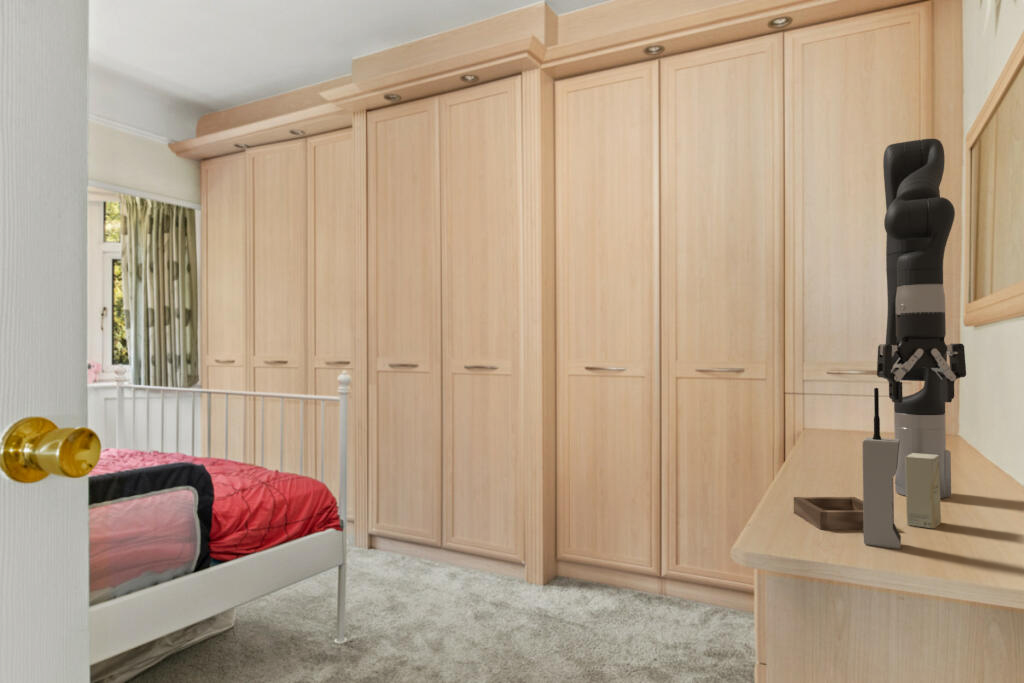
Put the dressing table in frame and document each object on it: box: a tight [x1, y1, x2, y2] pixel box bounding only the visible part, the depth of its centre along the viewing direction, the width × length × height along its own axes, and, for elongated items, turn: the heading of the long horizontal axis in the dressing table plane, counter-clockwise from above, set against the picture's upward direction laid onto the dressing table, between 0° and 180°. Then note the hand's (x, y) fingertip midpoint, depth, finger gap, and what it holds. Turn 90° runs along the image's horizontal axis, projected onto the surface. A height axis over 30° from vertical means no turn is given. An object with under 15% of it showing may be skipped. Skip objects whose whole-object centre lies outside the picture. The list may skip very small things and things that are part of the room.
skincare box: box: [905, 453, 942, 529], centre depth 116 cm, size 6×4×12 cm
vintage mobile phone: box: [862, 387, 902, 550], centre depth 104 cm, size 4×5×25 cm
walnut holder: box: [793, 496, 864, 531], centre depth 118 cm, size 11×11×3 cm
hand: (921, 402), depth 116 cm, fingers open, 8 cm apart
